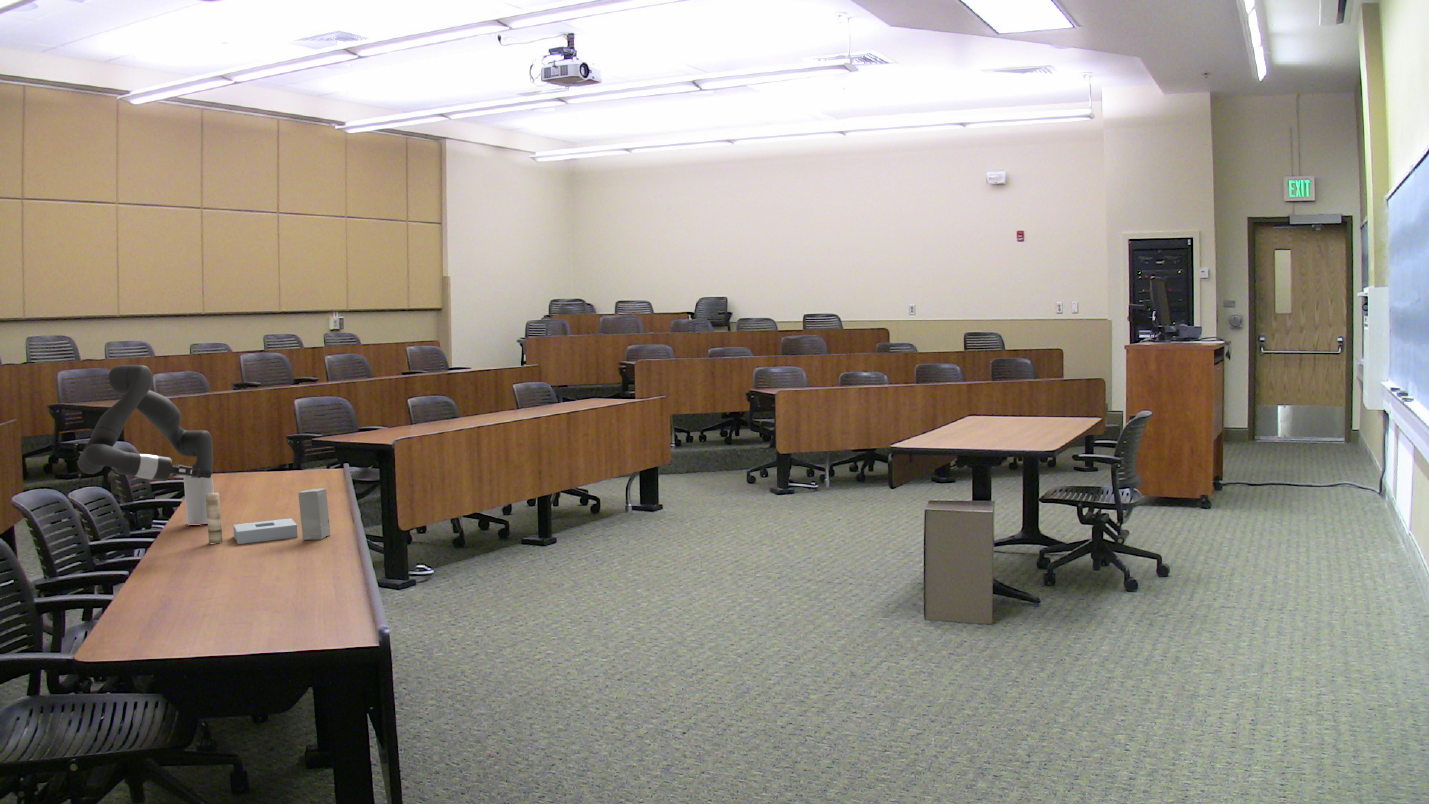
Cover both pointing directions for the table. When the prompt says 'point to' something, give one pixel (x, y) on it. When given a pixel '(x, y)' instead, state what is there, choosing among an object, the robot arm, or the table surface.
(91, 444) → the robot arm
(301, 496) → the skincare box
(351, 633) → the table surface
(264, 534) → the seat board
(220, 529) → the dowel
